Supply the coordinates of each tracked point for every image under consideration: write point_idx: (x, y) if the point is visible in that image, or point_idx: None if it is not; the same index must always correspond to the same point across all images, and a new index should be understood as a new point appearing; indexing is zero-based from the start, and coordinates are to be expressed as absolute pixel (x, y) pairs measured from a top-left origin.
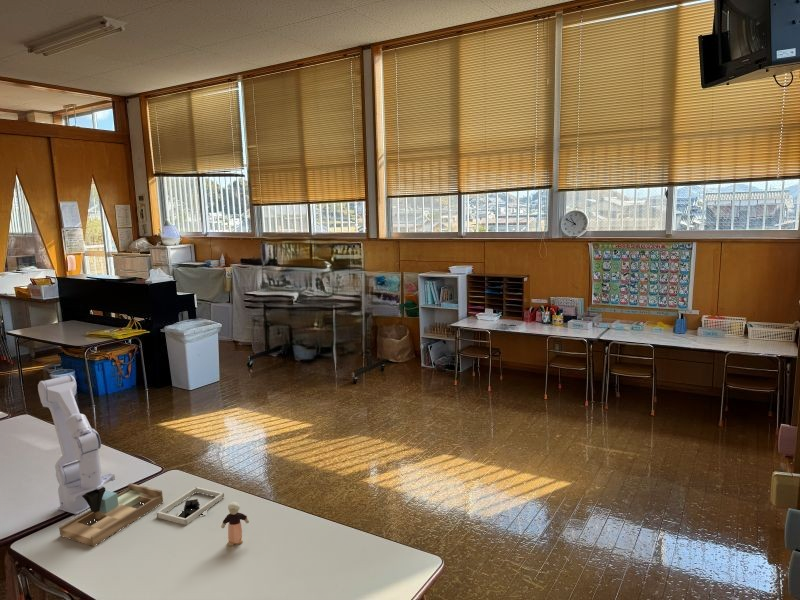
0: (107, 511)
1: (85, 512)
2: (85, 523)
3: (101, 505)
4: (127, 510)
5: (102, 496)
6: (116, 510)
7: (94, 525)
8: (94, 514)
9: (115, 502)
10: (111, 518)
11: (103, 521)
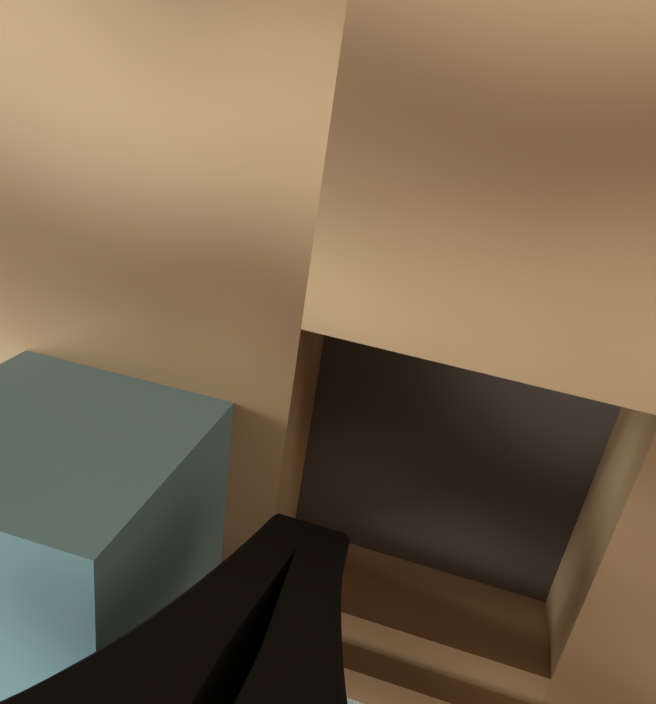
0: (207, 406)
1: None
2: (427, 570)
3: (175, 557)
4: (61, 84)
5: (60, 680)
6: (128, 291)
7: (632, 354)
8: None
9: (6, 397)
10: (356, 193)
11: (479, 274)
